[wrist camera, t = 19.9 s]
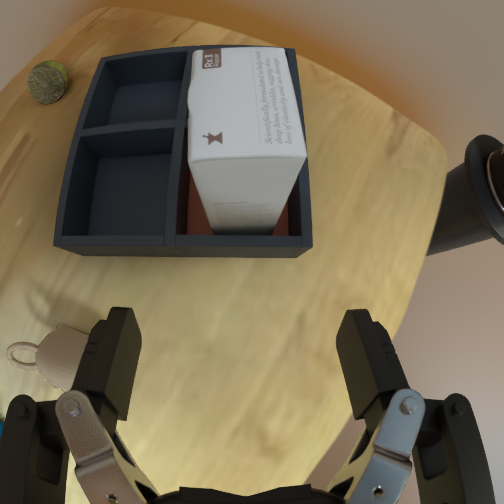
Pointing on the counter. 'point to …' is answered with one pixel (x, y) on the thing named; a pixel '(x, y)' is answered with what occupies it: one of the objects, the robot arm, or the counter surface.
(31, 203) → the counter surface
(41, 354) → the decorative ornament
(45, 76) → the lime
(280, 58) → the cosmetic box
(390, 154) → the counter surface
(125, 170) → the grid
